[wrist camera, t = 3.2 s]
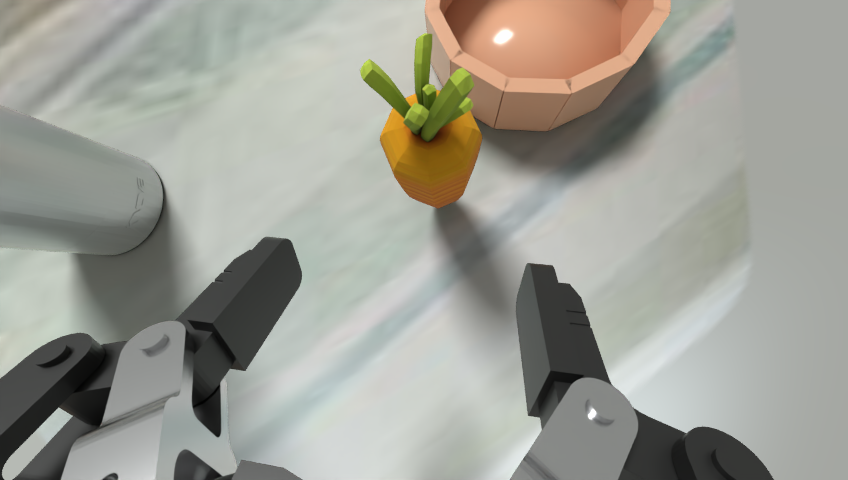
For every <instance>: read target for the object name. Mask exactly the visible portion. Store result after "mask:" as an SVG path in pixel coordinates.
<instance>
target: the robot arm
mask: <svg viewBox="0 0 848 480" xmlns="http://www.w3.org/2000/svg"><path fill="white" fill-rule="evenodd" d="M162 203H163V190H162V185H161V182H160V179H159V177H158V175H157V173H156V172H155V170H154V169H153V168H152V167H151V166H150V165H149V164H148V163H146V162H145V161H143V160H141V159H139V158H137V157H134V156H132V155H129V154H126V153H124V152H121V151H119V150H116V149H113V148H111V147H108V146H106V145H103V144H100V143H98V142H95V141H93V140H91V139H88V138H85V137H83V136H80V135H78V134H75V133H72V132H70V131H67V130H65V129H62V128H59V127H57V126H54V125H52V124H49V123H46V122H44V121H41V120H39V119H36V118H33V117H31V116H28V115H26V114H23V113H20V112H18V111H15V110H13V109H10V108H7V107H5V106H2V105H0V248H12V249H26V250H40V251H52V252H67V253H82V254H96V255H117V254H121V253H124V252H127V251H129V250H131V249H133V248H134V247H136V246H138V245H139V244H140V243H141V242H142V241H144V240H145V239H146V238H147V237H148V235H149V234H150V233H151V231H152V230H153V229H154V227H155V225H156V223H157V221H158V219H159V216H160V213H161V210H162ZM301 279H302V271H301V268H300V265H299V262H298V259H297V256H296V253H295V250H294V247H293V244H292V242H291V241H290V240H289V239H284V238H274V237H265V238H263V239H262V240H261V241H260V242H259V243H258V244H257V245H256V246H255V247H254V248H253V250H249V251H247V252H245V253H244V254H242V255H241V256H239V257H237V258H236V259H234V260H233V261H232V262H231V263H230V264H229V265H228V267H227V268H226V269H225V270H224V272H223V273H221V274H220V275H219V276H218V277H217V278H216V279H215V282H212V283H211V284H210V285H209V286H208V287H207V288H206V289H205V290H204V291H203V292H202V293H201V294H200V295H199V296H198V298H197V299H196V300H195V301H194V302H193V303H192V304H191V305H190V306H189V307H188V308H187V309H186V310H185V311H184V312H183V313H182V314H181V315H180V316H179V317H178V318H177V319H176V320H175V321H164V322H160V323H157V324H154V325H151V326H149V327H147V328H145V329H144V330H142V331H140V332H139V333H137V334H136V335H135V336H134V337H132V338H131V339H130V340H129V341H122V342H116V343H109V344H103V345H100V344H99V343H97V342H96V341H95V340H94V339H93V338H92V337H91V336H89V335H88V334H84V333H75V334H70V335H66V336H63V337H60V338H57V339H55V340H53V341H51V342H49V343H47V344H45V345H43V346H41V347H40V348H38V349H37V350H35V351H34V352H33V353H31V354H30V355H29V356H27V357H26V358H25V359H24V360H23V361H21V362H20V363H19V364H18V365H16V366H15V367H14V368H13V369H12V370H10V371H9V372H8V373H7V374H5V375H4V376H3V377H2V378H1V379H0V480H4V479H3V477H2V469H3V467H4V464H5V463H6V461H7V460H8V458H9V457H10V456H11V455H12V454H13V453H14V452H15V451H16V450H17V449H18V448H19V447H20V446H21V445H22V444H23V443H24V442H25V441H26V440H27V439H28V438H29V437H30V435H31V434H33V433H34V432H35V431H36V430H37V429H38V428H39V427H40V426H41V425H42V424H43V423H44V422H45V421H46V420H47V418H48V417H49V416H50V415H51V414H52V413H53V412H54V411H55V410H56V409H57V408H58V407H59V408H61V409H62V410H64V411H66V412H67V413H69V414H71V415H72V416H73V417H72V418H71V419H70V420H69V421H68V422H67V423H66V424H65V425H64V426H63V428H62V429H61V430H60V431H59V432H58V433H57V434H56V435H55V436H54V437H53V438H52V439H51V440H50V441H49V443H48V444H47V445H46V446H45V447H44V448H43V449H42V450H41V451H40V452H39V453H38V454H37V455H36V456H35V458H34V459H33V460H32V461H31V462H30V463H29V464H28V465H27V466H26V467H25V468H24V469H23V470H22V471H21V473H20V474H19V475H18V476H17V477H15V478H14V479H13V480H302V479H301V478H299V477H297V476H296V475H294V474H293V473H291V472H289V471H288V470H286V469H284V468H282V467H276V466H271V465H266V464H261V463H255V462H250V461H245V460H241V462H240V464H239V466H238V468H237V463H236V459H235V456H234V453H233V451H232V449H231V446H230V442H229V427H228V400H227V381H226V379H225V377H224V376H225V375H226V374H227V372H228V371H229V369H236V370H242V371H246V369H247V367H248V366H249V364H250V363H251V361H252V360H253V358H254V357H255V355H256V353H257V352H258V350H259V349H260V347H261V346H262V344H263V343H264V341H265V339H266V338H267V336H268V335H269V333H270V332H271V330H272V329H273V327H274V325H275V324H276V322H277V321H278V319H279V318H280V316H281V315H282V313H283V311H284V310H285V308H286V307H287V305H288V304H289V302H290V301H291V299H292V297H293V296H294V294H295V293H296V291H297V290H298V288H299V286H300V283H301ZM516 316H517V325H518V334H519V342H520V351H521V359H522V368H523V377H524V385H525V394H526V402H527V411H528V416H534V417H540V420H541V427H542V431H541V433H540V434H539V436H538V437H537V439H536V440H535V442H534V444H533V445H532V447H531V448H530V450H529V451H528V453H527V454H526V456H525V457H524V459H523V460H522V462H521V463H520V465H519V466H518V468H517V469H516V471H515V472H514V474H513V475H512V477H511V478H510V480H774V479H773V478H772V476H771V474H770V473H769V471H768V470H767V468H766V467H765V466H764V464H763V463H762V462H761V461H760V460H759V458H758V457H757V456H755V454H754V453H753V452H752V451H750V449H748V448H747V447H746V446H745V445H743V444H742V443H741V442H740V441H738V440H737V439H735V438H733V437H732V436H730V435H728V434H726V433H724V432H722V431H719V430H717V429H714V428H710V427H697V428H694V429H692V430H691V431H689V432H688V433H684V432H682V431H680V430H678V429H675V428H673V427H671V426H668V425H666V424H664V423H662V422H659V421H657V420H655V419H653V418H650V417H648V416H646V415H644V414H642V413H640V412H639V411H637V410H636V409H634V408H633V407H632V406H631V404H630V402H629V401H628V400H627V398H626V397H625V396H624V395H623V394H622V393H621V392H620V391H619V390H617V389H616V388H615V387H614V386H612V384H611V382H610V380H609V377H608V375H607V372H606V369H605V366H604V363H603V360H602V357H601V354H600V351H599V349H598V346H597V343H596V340H595V337H594V334H593V331H592V328H590V322H589V319H588V317H587V315H586V311H585V308H584V305H583V302H582V299H581V297H580V296H579V295H578V293H577V292H576V291H575V290H574V289H573V288H572V286H571V285H570V284H566V283H558V280H557V276H556V273H555V269H554V267H553V266H552V265H543V264H532V263H528V264H527V265H526V267H525V271H524V274H523V278H522V281H521V285H520V288H519V292H518V295H517V301H516Z"/></svg>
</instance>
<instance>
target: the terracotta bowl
mask: <svg viewBox="0 0 848 480" xmlns="http://www.w3.org/2000/svg"><path fill="white" fill-rule="evenodd" d="M669 14H670V0H426V4H425V18H426V27H427V34H432V51H431V64H432V66H433V68H434V70H435V72H436V74H437V76H438V78H439V80H440V82H441V84H442V86H443V87H444V85H445V84H446V82H447V81H448V79H449V78H450V77H451V76H452V75H453V73H454V72H455V71H456V70H458V69H460V68H462V67H463V68H464V69H465V70H466V71H467V72H468V73H469V74H470V75H471V77H472V80H473V82H474V87H473V88H472V90H471V91H470V93H469V94H468V95H467V98H469V99H471V101H472V103H473V107H472V109H471V110H470V111H471V113H472V115H473V116H474V117H475V118H477V119H479V120H480V121H482V122H483V123H485V124H487V125H488V126H490V127H492V128H494V129H508V130H529V131H550V130H552V129H554V128H556V127H558V126H560V125H563V124H565V123H567V122H569V121H571V120H573V119H575V118H578V117H580V116H582V115H584V114H586V113H588V112H591V111H593V110H595V109H597V108H598V107H599V106H600V104H601V103H602V102H603V101H604V100H605V98H606V97H607V96H608V95H609V94H610V92H611V91H612V90H613V89H614V88H615V86H616V85H617V84H618V83H619V82H620V80H621V79H622V78H623V77H624V76H625V74H626V73H627V72H628V71H629V70H630V68H631V67H632V66H633V65H634V64H635V62H636V61H637V59H638V58H639V56H640V55H641V54H642V52H643V51H644V49H645V48H646V46H647V45H648V44H649V42H650V41H651V39H652V38H653V37H654V35H655V34H656V32H657V31H658V29H659V28H660V27H661V25H662V24H663V22H664V21H665V19H666V18H667V17H668V15H669Z"/></svg>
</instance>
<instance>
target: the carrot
mask: <svg viewBox="0 0 848 480" xmlns="http://www.w3.org/2000/svg"><path fill="white" fill-rule="evenodd" d="M431 51H432V34H426V33H425V34H423V35H421V36H420V37H419V38H417V39H416V46H415V61H414V71H415V92H416V94H414V95H411V96H409V97H407V98H404V96H403V95H402V94H401V92H400V91H399V89H398V88H397V87H396V85H395V84H394V83H393V81H392V80H391V79H390V77H389V76H388V75H387V74H386V73H385V72H384V71H383V70H382V69H381V68H380V67H379V66H378V65H377V64H375V63H374V62H373V61H371V60H370V59H369V60H368V61H366V62H365V63H364V64H363V66H362V68H361V76H362V78H363V80H364V81H365V82H366V83H367V84H368V85H369V86H370V87H371V88H373V89H374V90H375V91H376V92H377V93H379V94H380V95H381V96H382V97H383V98H384V99H385V100H386V101H387V102H388V103H389V104H390V105H391V106H392V107H393V109H392V111H391V113H390V115H389V118H388V120H387V122H386V124H385V127H384V129H383V131H382V133H381V136H380V142H381V145H382V147H383V150H384V152H385V154H386V157H387V159H388V162H389V164H390V166H391V169H392V171H393V174H394V176H395V178H396V180H397V181H398V182H399V184H400V185H401V187H402V188H403V190H404V191H405V192H406V193H407V194H408V196H410V197H411V198H413V199H415V200H417V201H420V202H422V203H425V204H428V205H430V206H433V207H435V208H441V207H443V206H445V205H448V204H450V203H452V202H455V201H457V200H458V199H459V198H460V197H461V196H462V195H463V193H464V191H465V188H466V186H467V183H468V181H469V179H470V176H471V174H472V171H473V169H474V166H475V163H476V160H477V157H478V153H479V150H480V146H481V142H482V134H481V132H480V130H479V128H478V126H477V124H476V122H475V120H474V117H473V115H472V113H471V111H470V110H471V109H472V107H473V103H472V101H471V99H469V98H467V95H468V94H469V93H470V91H471V90H472V88H473V87H474V82H473V80H472V77H471V75H470V74H469V73H468V72H467V71H466V70H465V69H464V68H463V67H462V68H460V69H458V70H456V71H455V72H454V73H453V75H452V76H451V77H450V78H449V79H448V81H447V82H446V84H445V85H444V87H443V88H442V90H441V91H439V90H436V89H435V87H434V85H432V84H429V73H430V62H431Z"/></svg>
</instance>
